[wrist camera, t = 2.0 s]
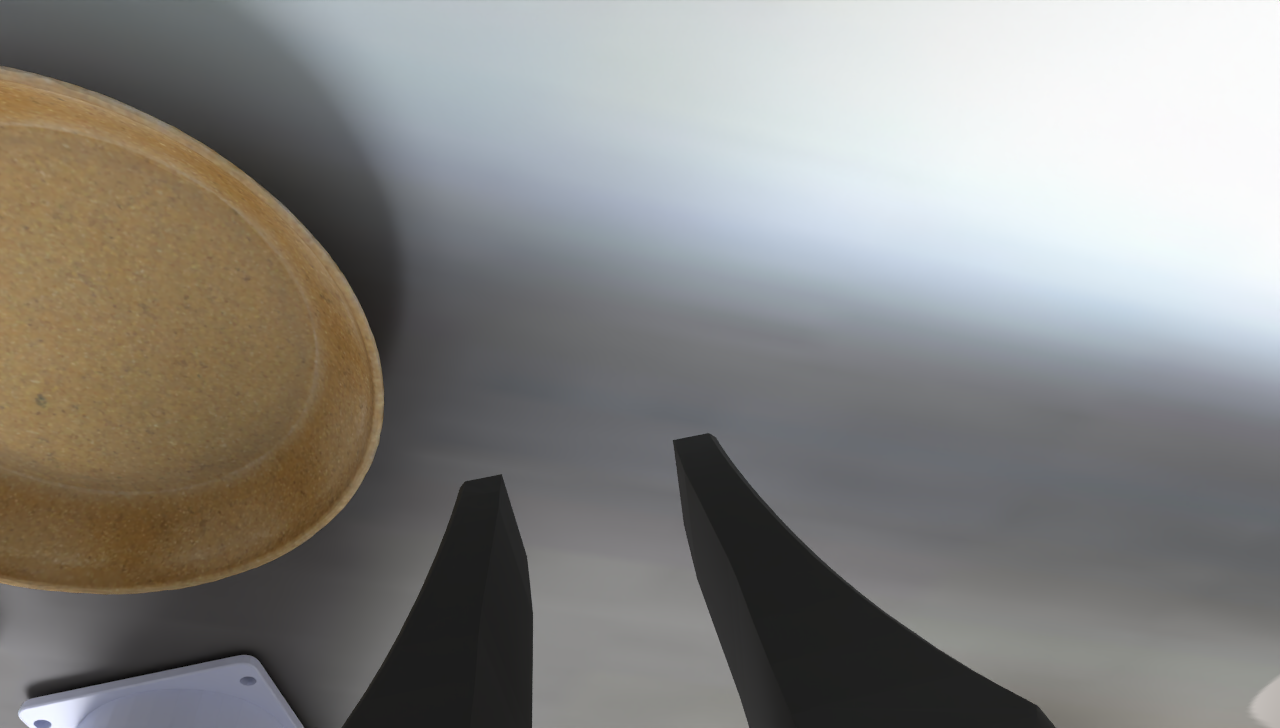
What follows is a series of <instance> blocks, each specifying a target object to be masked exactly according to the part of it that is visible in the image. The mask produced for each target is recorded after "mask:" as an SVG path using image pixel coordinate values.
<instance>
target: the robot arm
mask: <svg viewBox="0 0 1280 728" xmlns="http://www.w3.org/2000/svg"><path fill="white" fill-rule="evenodd" d="M673 443H674V451H675V459H676V466H677V474H678V482H679V490H680V497H681V505H682V513H683V520H684V526H685V531H686V535H687V539H688V543H689V547H690V551H691V555H692V559H693V563H694V567H695V571H696V575H697V579H698V582H699V585H700V588H701V591H702V593H703V596H704V599H705V602H706V604H707V607H708V610H709V613H710V616H711V618H712V621H713V624H714V627H715V629H716V632H717V635H718V638H719V640H720V643H721V646H722V649H723V651H724V654H725V657H726V660H727V662H728V665H729V668H730V671H731V673H732V676H733V679H734V682H735V684H736V687H737V690H738V693H739V696H740V699H741V702H742V705H743V708H744V711H745V714H746V718H747V721H748V724H749V728H1055V726H1054V725H1053V724H1052V723H1051V721H1050V720H1049V719H1048V718H1047V716H1046V715H1045V714H1044V713H1043V712H1042V710H1041V709H1040V708H1039V707H1038V706H1037V705H1035V704H1033V703H1031V702H1029V701H1027V700H1026V699H1024V698H1022V697H1020V696H1018V695H1016V694H1014V693H1013V692H1011V691H1009V690H1007V689H1005V688H1003V687H1001V686H999V685H998V684H996V683H994V682H992V681H991V680H989V679H987V678H985V677H984V676H982V675H980V674H978V673H976V672H975V671H973V670H971V669H970V668H968V667H967V666H965V665H963V664H962V663H960V662H958V661H957V660H955V659H954V658H952V657H950V656H949V655H947V654H945V653H944V652H942V651H941V650H939V649H937V648H936V647H934V646H933V645H932V644H930V643H929V642H927V641H926V640H924V639H923V638H921V637H920V636H918V635H917V634H916V633H914V632H913V631H911V630H910V629H908V628H907V627H905V626H904V625H903V624H901V623H900V622H898V621H897V620H895V619H894V618H892V617H891V616H889V615H888V614H887V613H885V612H884V611H883V610H881V609H880V608H879V607H878V606H876V605H875V604H874V603H872V602H871V601H870V600H869V599H867V598H866V597H865V596H863V595H862V594H861V593H860V592H858V591H857V590H856V589H855V588H853V587H852V586H851V585H850V584H849V583H847V582H846V581H845V580H844V579H843V578H842V577H840V576H839V575H838V574H837V573H836V572H834V571H833V570H832V569H831V568H830V567H829V566H828V565H827V564H826V563H824V562H823V561H822V560H821V559H820V558H819V557H818V556H817V555H816V554H815V553H814V552H813V551H812V550H811V549H810V548H808V547H807V546H806V545H805V544H804V543H803V542H802V541H801V540H800V539H799V538H798V537H797V536H796V535H795V534H794V533H793V532H792V531H791V530H790V529H789V528H788V527H787V526H786V525H785V523H784V522H783V521H782V520H781V519H780V518H779V517H778V516H777V515H776V514H775V513H774V511H773V510H772V509H771V508H770V507H769V506H768V505H767V504H766V503H765V502H764V500H763V499H762V498H761V497H760V496H759V495H758V494H757V492H756V491H755V490H754V489H753V488H752V487H751V485H750V484H749V483H748V482H747V480H746V479H745V478H744V477H743V475H742V474H741V473H740V472H739V470H738V469H737V468H736V466H735V465H734V464H733V462H732V461H731V460H730V458H729V457H728V455H727V454H726V453H725V451H724V450H723V448H722V447H721V445H720V444H719V442H718V440H717V439H716V437H714V436H713V435H711V434H709V433H707V434H702V435H697V436H692V437H687V438H682V439H677V440H673ZM532 671H533V610H532V600H531V590H530V580H529V571H528V562H527V556H526V552H525V549H524V546H523V542H522V539H521V536H520V533H519V529H518V526H517V523H516V520H515V516H514V513H513V510H512V507H511V503H510V500H509V497H508V494H507V490H506V487H505V484H504V480H503V477H502V474H501V475H496V476H491V477H486V478H481V479H476V480H471V481H466V482H464V484H463V485H462V486H461V487H460V490H459V493H458V496H457V500H456V503H455V506H454V509H453V512H452V515H451V518H450V521H449V523H448V526H447V529H446V531H445V534H444V536H443V539H442V542H441V544H440V547H439V549H438V552H437V554H436V556H435V559H434V561H433V563H432V566H431V568H430V570H429V573H428V575H427V577H426V580H425V582H424V584H423V586H422V589H421V591H420V593H419V595H418V597H417V599H416V601H415V603H414V605H413V607H412V609H411V611H410V613H409V615H408V617H407V619H406V621H405V623H404V625H403V627H402V629H401V631H400V633H399V635H398V637H397V639H396V641H395V642H394V644H393V646H392V648H391V650H390V651H389V653H388V655H387V657H386V658H385V660H384V662H383V664H382V665H381V667H380V669H379V670H378V672H377V674H376V675H375V677H374V679H373V680H372V682H371V684H370V685H369V687H368V689H367V690H366V692H365V693H364V695H363V697H362V698H361V700H360V701H359V703H358V704H357V705H356V707H355V708H354V710H353V711H352V713H351V714H350V716H349V717H348V719H347V720H346V722H345V723H344V725H343V726H342V728H532ZM18 716H19V717H20V719H21V720H22V721H23V722H24V723H25V724H26V725H28V726H29V727H30V728H304V727H303V725H302V724H301V722H300V721H299V719H298V718H297V716H296V715H295V713H294V712H293V710H292V709H291V707H290V706H289V705H288V703H287V702H286V700H285V699H284V697H283V696H282V694H281V693H280V691H279V690H278V688H277V687H276V685H275V684H274V682H273V681H272V679H271V678H270V676H269V675H268V674H267V672H266V671H265V669H264V668H263V666H262V665H261V663H260V662H259V661H258V660H257V659H256V658H255V657H253V656H250V655H238V656H233V657H229V658H224V659H219V660H214V661H209V662H204V663H200V664H195V665H190V666H185V667H180V668H176V669H171V670H166V671H161V672H156V673H152V674H147V675H142V676H137V677H132V678H127V679H123V680H118V681H113V682H108V683H103V684H99V685H94V686H89V687H84V688H79V689H75V690H70V691H65V692H60V693H55V694H50V695H46V696H41V697H36V698H32V699H29V700H26V701H25V702H24V703H23V704H22V705H21V707H20V709H19V711H18Z"/></svg>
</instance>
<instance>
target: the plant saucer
mask: <svg viewBox="0 0 1280 728" xmlns="http://www.w3.org/2000/svg"><path fill="white" fill-rule="evenodd" d="M383 414H384V386H383V375H382V369H381V363H380V358H379V353H378V349H377V346H376V342H375V339H374V336H373V334H372V331H371V329H370V326H369V323H368V321H367V318H366V316H365V313H364V311H363V309H362V307H361V305H360V303H359V301H358V299H357V297H356V295H355V294H354V292H353V290H352V288H351V287H350V285H349V283H348V281H347V279H346V278H345V276H344V275H343V274H342V272H341V271H340V269H339V268H338V266H337V265H336V263H335V262H334V261H333V260H332V258H331V257H330V255H329V253H328V252H327V251H326V250H325V249H324V248H323V247H322V245H321V244H320V243H319V242H318V241H317V240H316V239H315V238H314V236H313V235H312V234H311V233H310V232H309V230H308V229H307V228H306V227H305V226H304V225H303V224H302V223H301V222H300V221H299V220H298V219H297V218H296V217H295V216H294V215H293V214H292V213H291V212H290V211H289V210H288V209H287V208H286V207H285V206H284V205H283V204H282V203H281V202H280V201H278V200H277V199H276V198H275V197H274V196H273V195H272V194H270V193H269V192H268V191H267V190H266V189H265V188H263V187H262V186H261V185H260V184H259V183H257V182H256V181H255V180H254V179H252V178H251V177H250V176H249V175H247V174H246V173H245V172H243V171H242V170H241V169H239V168H238V167H237V166H235V165H234V164H232V163H231V162H230V161H228V160H227V159H225V158H224V157H222V156H221V155H220V154H218V153H217V152H215V151H214V150H213V149H211V148H209V147H208V146H206V145H205V144H203V143H201V142H200V141H198V140H196V139H194V138H193V137H191V136H189V135H187V134H186V133H184V132H182V131H181V130H179V129H177V128H176V127H174V126H172V125H169V124H167V123H165V122H163V121H161V120H159V119H157V118H155V117H153V116H151V115H149V114H147V113H145V112H142V111H140V110H138V109H136V108H134V107H132V106H129V105H127V104H125V103H123V102H120V101H118V100H116V99H113V98H111V97H108V96H106V95H103V94H100V93H98V92H94V91H91V90H88V89H85V88H83V87H80V86H77V85H74V84H71V83H67V82H64V81H61V80H58V79H54V78H51V77H46V76H43V75H40V74H36V73H32V72H27V71H23V70H19V69H15V68H10V67H6V66H0V583H2V584H8V585H13V586H18V587H25V588H30V589H40V590H47V591H62V592H71V593H93V594H105V595H107V594H138V593H147V592H158V591H163V590H176V589H182V588H186V587H192V586H197V585H201V584H205V583H209V582H214V581H217V580H220V579H223V578H226V577H229V576H233V575H236V574H239V573H242V572H246V571H248V570H250V569H253V568H257V567H259V566H261V565H264V564H266V563H268V562H270V561H273V560H275V559H277V558H279V557H281V556H283V555H285V554H286V553H288V552H290V551H292V550H293V549H295V548H296V547H298V546H299V545H301V544H302V543H304V542H305V541H307V540H308V539H310V538H311V537H312V536H313V535H314V534H315V533H316V532H318V531H319V530H321V529H322V528H323V527H325V526H326V525H327V524H328V523H329V522H330V521H331V520H332V519H333V518H334V517H335V516H336V515H337V514H338V513H339V512H340V511H341V510H342V509H343V508H344V507H345V506H346V505H347V503H348V502H349V500H350V499H351V498H352V497H353V495H354V494H355V493H356V491H357V489H358V488H359V486H360V484H361V483H362V481H363V479H364V477H365V475H366V473H367V472H368V470H369V468H370V465H371V464H372V462H373V459H374V456H375V453H376V450H377V446H378V445H379V440H380V432H381V429H382V423H383Z"/></svg>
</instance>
